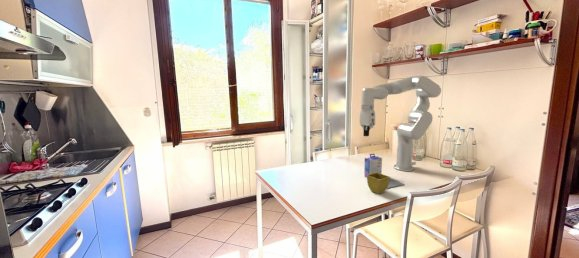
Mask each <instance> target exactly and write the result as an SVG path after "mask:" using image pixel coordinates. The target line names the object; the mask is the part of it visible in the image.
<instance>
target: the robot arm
mask: <svg viewBox="0 0 579 258" xmlns="http://www.w3.org/2000/svg"><path fill="white" fill-rule="evenodd" d="M413 90H415V96H416V103H415V104H414V106H413V107H412V108H411V110H410V112H409V113H408V115H407V122H403V123H400V124H399V125H397V129H396V135H397V149H396V163H395V164H394V165H393V168H394V169H395V170H397V171H402V172H411V171H414V169H415V168H414V165H417V162H416V161H413V149H414V142H413V141H417V140H420V139H422V138H423V136H424V135H425V134H426V132H427V131H428V129H429V128H430V126H431V125H432V122H433V114H432V113H431V112H430V111H429V109H430V105H431V104H430V103H431V102H430V99H429V98H431V99H432V98H433V99H434V98H438V97H439V96H440V94H441V92H442V88H441V86H440V85H439V84H438V83H436V82H435V81H433V80H432V79H430V78H429V77H427V76H425V75H411V76H409V77H406V78H402V79H399V80H395V81H391V82H387V83H384V84H378V85H376V86H373V87H363V88H362V89H361V106H360V107H361V108H360V113H359V124H360V127H362V130H363V137H370V130H371V129H373V128H374V127H375V125H376V111H375V100H385V99H387V98H388V96H389V95H401V94H403V93H406V92H409V91H413Z"/></svg>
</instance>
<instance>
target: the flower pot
mask: <svg viewBox="0 0 579 258" xmlns="http://www.w3.org/2000/svg"><path fill="white" fill-rule="evenodd" d="M390 178H391V176H388V175H386V174H384V173H381V174H380V173H372V174H369V175H367V177H366V180H367V181H366V182H367V186H368V188H369V190H370V191H371V192H374V193H376V194H378V195H379V194H382V193H385V192H386V190H388V189H387V187H388V184H389V180H390Z"/></svg>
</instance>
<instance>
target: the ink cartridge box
mask: <svg viewBox="0 0 579 258" xmlns="http://www.w3.org/2000/svg"><path fill="white" fill-rule="evenodd" d="M382 162H383V158H382V157H380V156H376V154H375V153H370V154H369V157H365V158H364V171H363V172H364V174H363V175H364V177H365V178H367V175H369V174H372V173H380V174H382V171H383V170H382V165H383V163H382Z"/></svg>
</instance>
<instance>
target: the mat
mask: <svg viewBox="0 0 579 258" xmlns="http://www.w3.org/2000/svg"><path fill="white" fill-rule="evenodd" d="M401 186H405V184H404V182H401V181H399V180H395V179H394V178H391V177H390V180H389V184H388V187H387V189H386V190H389V189H392V188H397V187H401Z"/></svg>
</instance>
